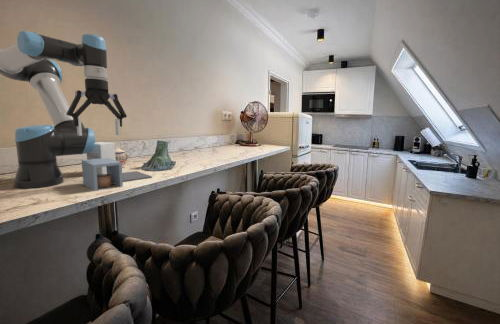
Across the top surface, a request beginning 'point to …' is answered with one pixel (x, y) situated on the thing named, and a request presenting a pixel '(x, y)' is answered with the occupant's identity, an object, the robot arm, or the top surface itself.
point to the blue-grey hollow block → (91, 171)
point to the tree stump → (159, 159)
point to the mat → (134, 176)
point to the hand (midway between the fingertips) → (99, 135)
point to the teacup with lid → (120, 156)
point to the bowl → (104, 180)
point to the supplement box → (102, 154)
